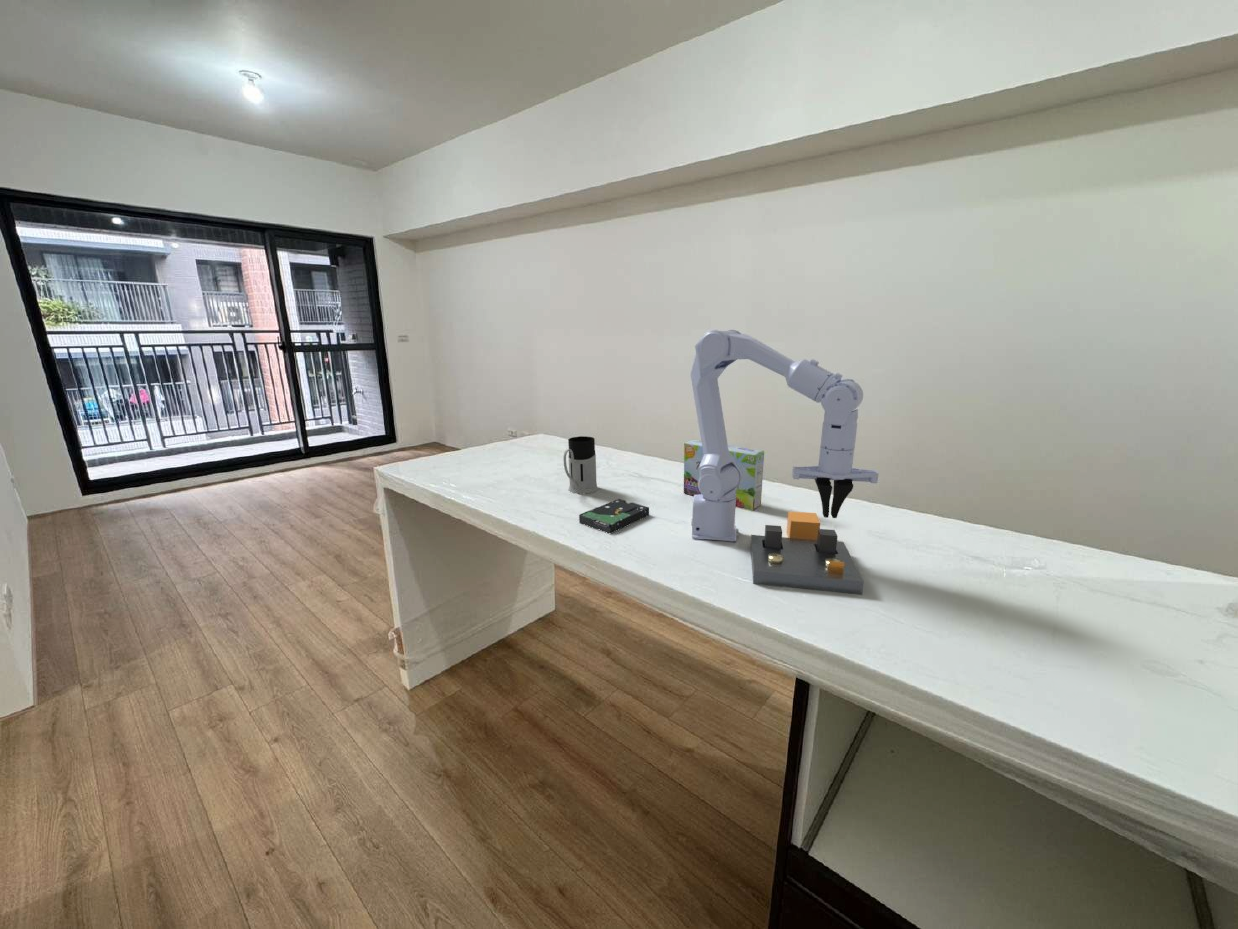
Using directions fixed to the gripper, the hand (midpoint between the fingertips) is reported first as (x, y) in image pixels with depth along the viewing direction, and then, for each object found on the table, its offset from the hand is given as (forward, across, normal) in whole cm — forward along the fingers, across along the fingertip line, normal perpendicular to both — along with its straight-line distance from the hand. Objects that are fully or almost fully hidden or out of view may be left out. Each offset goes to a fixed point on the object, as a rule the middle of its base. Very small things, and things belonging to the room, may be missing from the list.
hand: (829, 516), depth 90 cm
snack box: (+10, -21, +32) cm, 39 cm away
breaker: (+7, -10, 0) cm, 12 cm away
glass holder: (+10, -61, +31) cm, 69 cm away
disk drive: (+10, -46, +13) cm, 49 cm away
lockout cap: (+9, -3, +10) cm, 14 cm away
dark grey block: (+7, 0, 0) cm, 7 cm away
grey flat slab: (+9, -5, -4) cm, 11 cm away
